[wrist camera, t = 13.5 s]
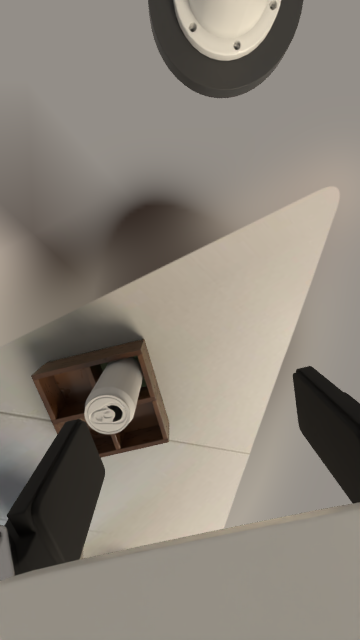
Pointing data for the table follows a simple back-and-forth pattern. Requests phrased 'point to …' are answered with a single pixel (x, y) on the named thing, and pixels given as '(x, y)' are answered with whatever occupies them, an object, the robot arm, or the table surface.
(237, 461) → the table surface
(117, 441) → the tray
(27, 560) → the robot arm
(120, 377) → the beverage can
